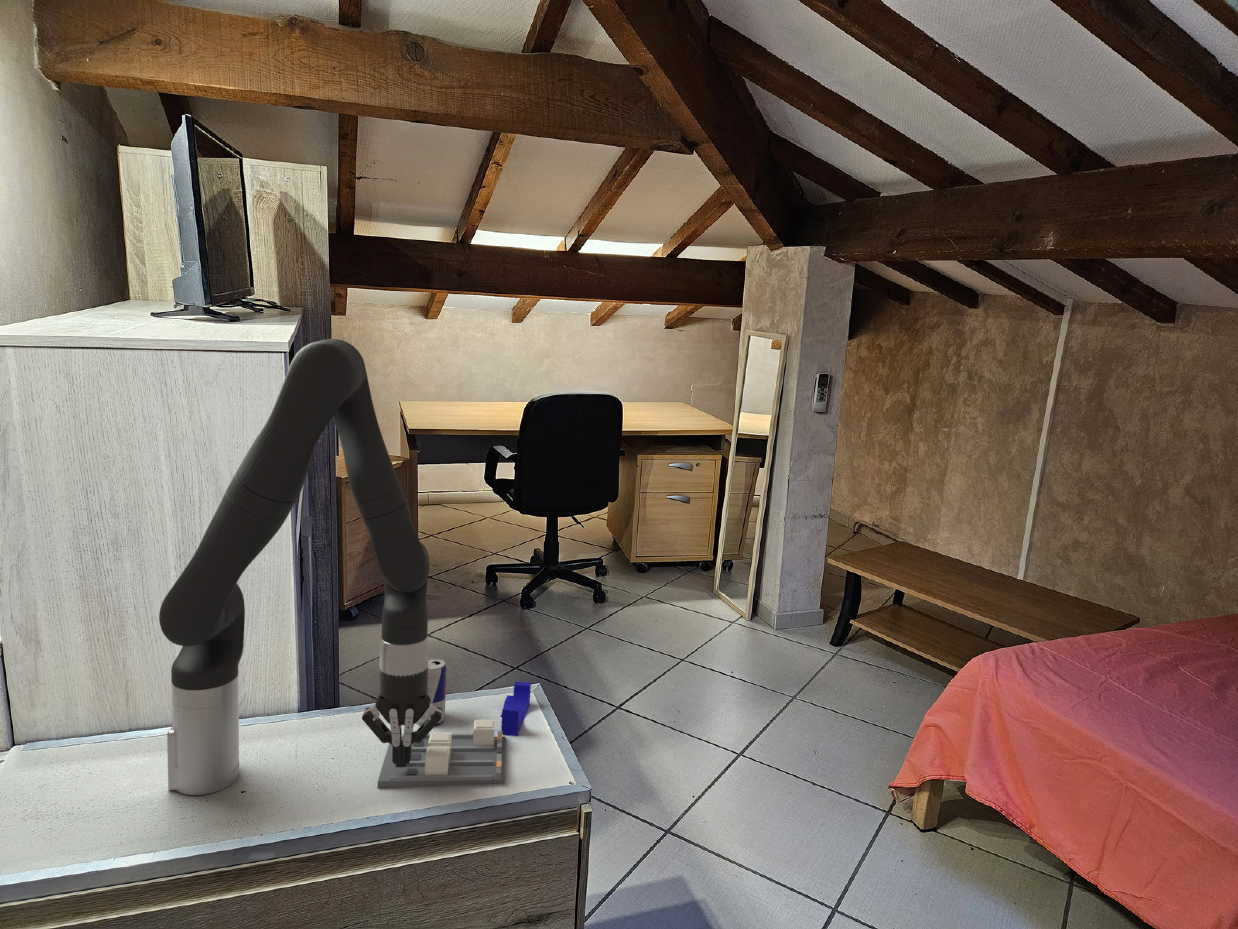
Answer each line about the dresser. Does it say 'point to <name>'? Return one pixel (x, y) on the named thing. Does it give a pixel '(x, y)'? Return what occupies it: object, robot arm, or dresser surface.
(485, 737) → the tab far
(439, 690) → the energy drink
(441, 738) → the tab mid
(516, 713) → the cable clip
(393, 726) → the robot arm
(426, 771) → the tab near
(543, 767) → the dresser surface
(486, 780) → the switch bank
